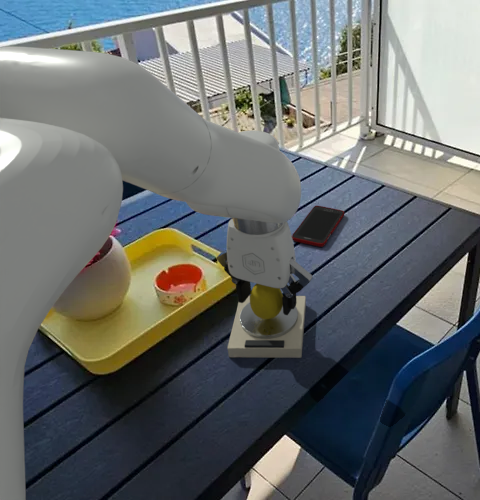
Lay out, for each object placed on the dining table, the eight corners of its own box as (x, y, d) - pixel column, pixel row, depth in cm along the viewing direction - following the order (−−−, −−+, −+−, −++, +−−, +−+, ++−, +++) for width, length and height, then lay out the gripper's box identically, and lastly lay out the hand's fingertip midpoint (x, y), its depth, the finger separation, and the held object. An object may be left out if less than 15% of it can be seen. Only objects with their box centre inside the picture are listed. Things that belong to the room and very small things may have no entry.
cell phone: (345, 214, 119) (345, 210, 118) (323, 248, 107) (323, 244, 107) (315, 208, 121) (315, 204, 120) (290, 241, 109) (290, 237, 109)
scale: (301, 357, 83) (300, 345, 81) (228, 357, 83) (226, 344, 81) (305, 304, 93) (305, 292, 92) (241, 304, 93) (239, 291, 91)
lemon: (245, 317, 86) (240, 282, 81) (270, 302, 89) (267, 267, 84) (266, 333, 83) (262, 298, 78) (291, 317, 86) (288, 281, 81)
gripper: (193, 216, 73) (210, 305, 84) (302, 241, 69) (305, 331, 79) (220, 192, 79) (232, 278, 89) (322, 214, 74) (323, 302, 85)
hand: (267, 303), depth 84 cm, fingers open, 7 cm apart
